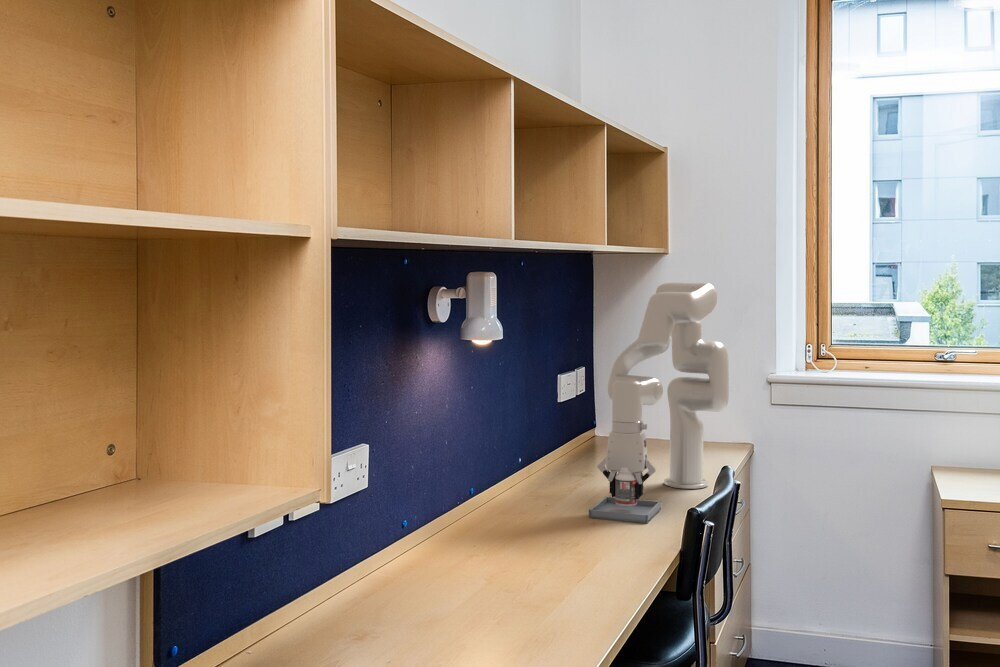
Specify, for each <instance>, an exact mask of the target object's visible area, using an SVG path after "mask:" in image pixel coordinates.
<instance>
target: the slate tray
mask: <svg viewBox="0 0 1000 667" xmlns="http://www.w3.org/2000/svg"><path fill="white" fill-rule="evenodd" d="M661 510H662V501H658V500H648V499H647V500H646V499H637V504H636V505H635V506H629V507H626V506H619V505H617V504H616V503H615V497H611V496H605V497H603V498H602V499H600V501H599V502H597V503H596V504H594V505H593V506H592V507H590V508H589V509H588V518H589V519H597V520H598V519H599V520H608V521H617V522H618V521H619V522H629V523H638V524H639V523H640V524H649V522H650V521H652V519H653V518H654V517H655V516H656V515H657V514H658V513H660V511H661Z"/></svg>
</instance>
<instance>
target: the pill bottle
mask: <svg viewBox="0 0 1000 667" xmlns="http://www.w3.org/2000/svg"><path fill="white" fill-rule="evenodd" d="M636 484H637V478H636V476H635V473H631V472H629V470H628V468H621V470H620V471H619V472H617V475H616V477H615V503H616V504H617V505H619V506H626V507H629V506H635V505H636V504H637V499H636Z"/></svg>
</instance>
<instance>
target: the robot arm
mask: <svg viewBox="0 0 1000 667" xmlns="http://www.w3.org/2000/svg"><path fill="white" fill-rule="evenodd" d="M714 286H715V285H712V284H711V283H709V282H684V281H683V282H664V283H662V284H660V285H658V286H657V288H656V289H655V293H654V294H652V295H651V296H650V298H649V299H648V302H647V305H646V306H647V307H646V309H645V312H644V316H643V319H642V323H641V327H640V330H639V334H638V337H637V339H636V340H634V341H633V342H632V343H631V344H629V345H628V346H627V347H626V348H625V349H624V350H622V352H621V353H620V354H618V356H617V358H616V359H615V361H614V363H613V364H612V369H611V371H610V376H609V380H608V383H607V396H608V397H609V399H610V400H611V403H612V405H611V406H612V407H611V409H612V412H611V413H612V414H611V416H612V417H611V418H612V419H611V421H612V422H611V431H609V434H608V440H607V446H606V454H605V455H606V456H605V457H604V458H603V459H602V461H601V462H600V463H598V464H597V469H598V470H599V471H600V472H601V473H602V474H603V476H604V477H605V478H606V479H607V481H608V482H609V494H610V495H611V496H610V497H615V477H616V475H617V474H618V472H619V471H620V470H621V468H628V470H629V472H631V473H635V476H636V478H637V484H636V499H638V500H641V498H642V497H643V495H644V482H646V480H648V479H649V478H650V477H651V476H652V475H653V474H654V473H656V471H657V469H656V468H655V466H654V465H653V464H652V463H651V462H650V460H649V459H648V445H647V438H646V437H647V436H646V434H645V432H642V431H644V430H647V429H648V424H647V423H643V414H642V413H643V407H642V406H654V405H657V403H659V402H660V400H661V399H662V397H663V393H664V389H663V385H662V382H660V380H659V379H657V378H656V377H653V376H645V375H632V374H629V372H630V371H631V370H632V369H633V368H634V367H635V366H636V365H638V364H639V363H641V362H644V361H647V360H649V359H652V358H654V357H656V356H659V355H662V354H663V353H665V352H666V351H667V350H668V349H669V346H670V342H671V358H672V360H671V361H672V365H673V368H674V369H675V370H676V371H677V372H680V373H684V374H699V375H700V374H701V375H702V374H703V375H708V378H707V377H706V378H705V377H698V376H697V377H695V376H692V377H691V376H678V377H675V378H673V379H672V380H671V381H670V382H669V383H668V386H667V391H666V392H667V394H666V395H667V402H668V406H669V407H668V408H669V420H670V421H669V424H670V426H669V427H670V428H669V431H670V432H669V477H666V478H664V479H663V484H664V485H665V486H668V487H670V488H675V489H684V490H685V489H686V490H689V489H693V490H694V489H703V488H706V487H708V486H709V482H708V480H706V479H705V478H703V472H704V471H703V470H704V467H703V466H704V424H703V421H702V419H701V417H700V415H699V413H698V412H710V413H711V412H712V413H719V412H723V411H725V410H726V408H727V406H728V403H729V391H730V390H729V388H730V385H729V380H730V378H729V354H728V350H727V347H726V346H725V344H723V343H722V342H720V341H716V340H715V341H714V340H703V336H702V334H703V333H702V320H703V319H704V318H706V317H707V316H709V314H711V313H712V312H713V311H714V310H715V307H716V305H717V303H718V293H717V290H716V288H715V287H714ZM647 469H648V471H647V472H645V474H644V471H645V470H647Z"/></svg>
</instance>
